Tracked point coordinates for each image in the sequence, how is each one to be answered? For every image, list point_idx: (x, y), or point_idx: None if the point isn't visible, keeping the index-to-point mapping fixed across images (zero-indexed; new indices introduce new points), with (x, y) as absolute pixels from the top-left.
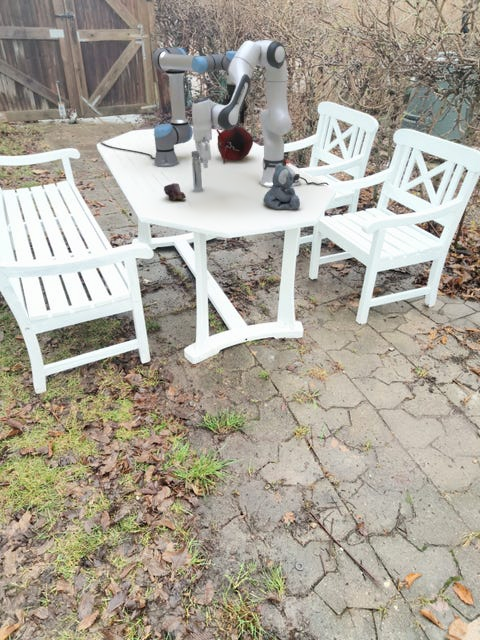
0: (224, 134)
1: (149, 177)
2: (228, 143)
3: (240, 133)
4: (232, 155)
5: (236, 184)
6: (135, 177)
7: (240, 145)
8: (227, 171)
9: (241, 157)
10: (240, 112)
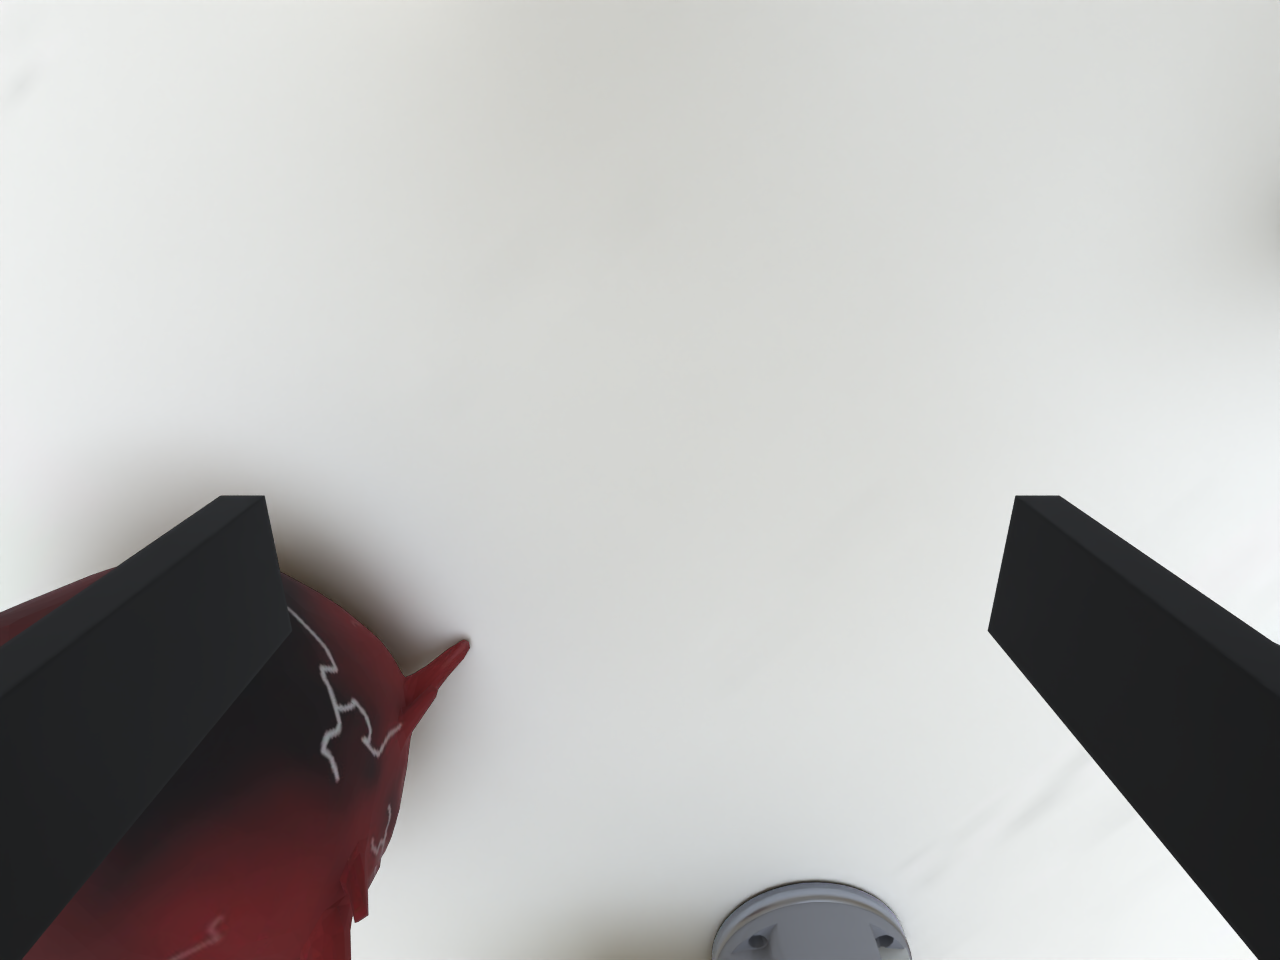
0: (295, 915)
1: None
2: (345, 758)
3: None
4: (363, 637)
5: (944, 9)
6: None
7: None
8: (630, 443)
9: None
10: (45, 889)
